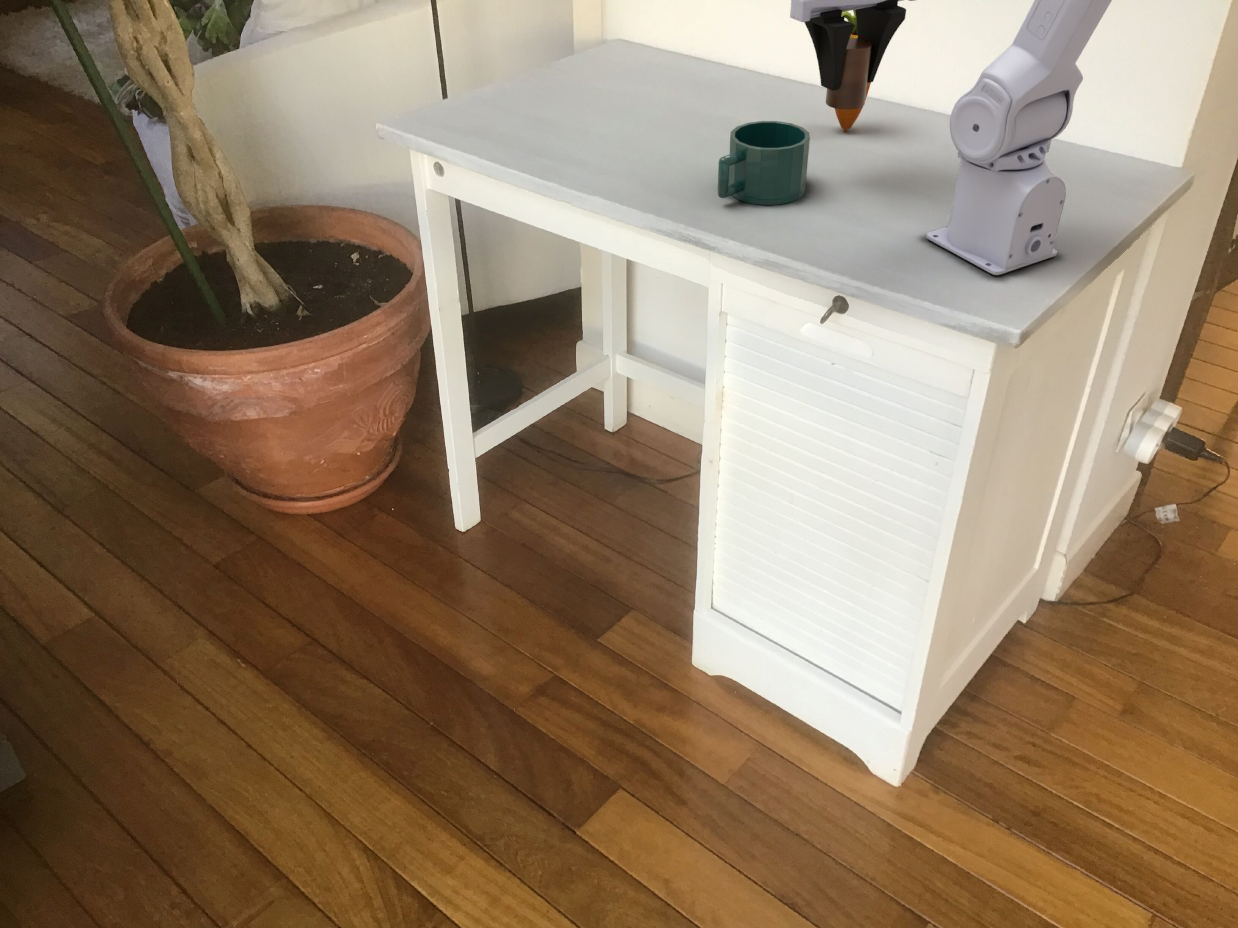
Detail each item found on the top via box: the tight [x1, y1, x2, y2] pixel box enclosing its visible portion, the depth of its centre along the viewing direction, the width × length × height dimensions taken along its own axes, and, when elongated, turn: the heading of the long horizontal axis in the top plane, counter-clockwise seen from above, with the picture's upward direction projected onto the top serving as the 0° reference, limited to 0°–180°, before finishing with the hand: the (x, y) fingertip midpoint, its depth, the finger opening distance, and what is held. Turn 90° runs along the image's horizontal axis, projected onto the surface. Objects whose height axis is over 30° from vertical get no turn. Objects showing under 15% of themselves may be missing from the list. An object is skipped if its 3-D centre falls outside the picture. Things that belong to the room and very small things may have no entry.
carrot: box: [834, 10, 872, 132], centre depth 119 cm, size 5×5×15 cm
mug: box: [717, 120, 811, 206], centre depth 108 cm, size 11×8×6 cm
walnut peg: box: [825, 38, 872, 110], centre depth 105 cm, size 4×4×6 cm
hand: (847, 83), depth 105 cm, fingers closed on walnut peg, 4 cm apart
